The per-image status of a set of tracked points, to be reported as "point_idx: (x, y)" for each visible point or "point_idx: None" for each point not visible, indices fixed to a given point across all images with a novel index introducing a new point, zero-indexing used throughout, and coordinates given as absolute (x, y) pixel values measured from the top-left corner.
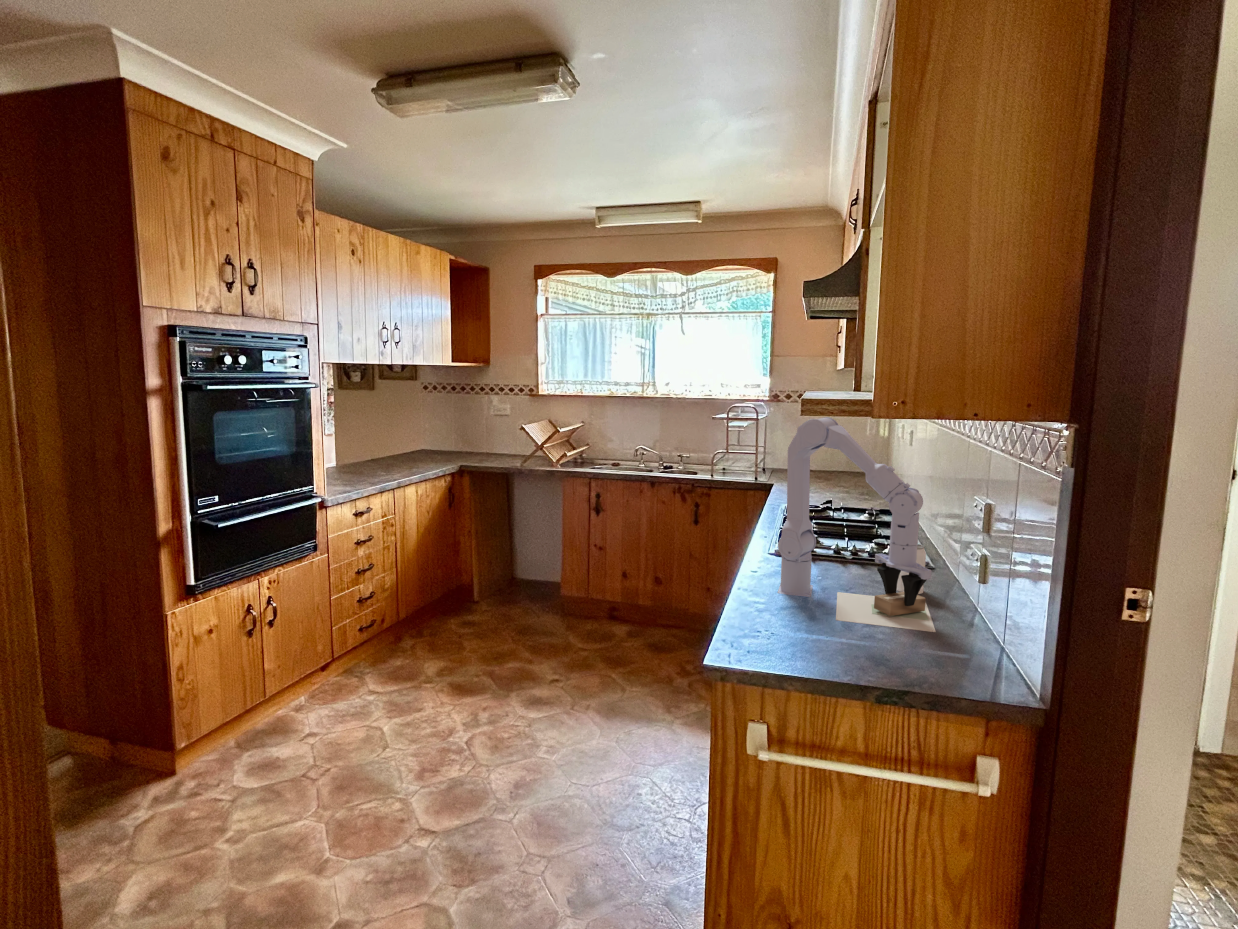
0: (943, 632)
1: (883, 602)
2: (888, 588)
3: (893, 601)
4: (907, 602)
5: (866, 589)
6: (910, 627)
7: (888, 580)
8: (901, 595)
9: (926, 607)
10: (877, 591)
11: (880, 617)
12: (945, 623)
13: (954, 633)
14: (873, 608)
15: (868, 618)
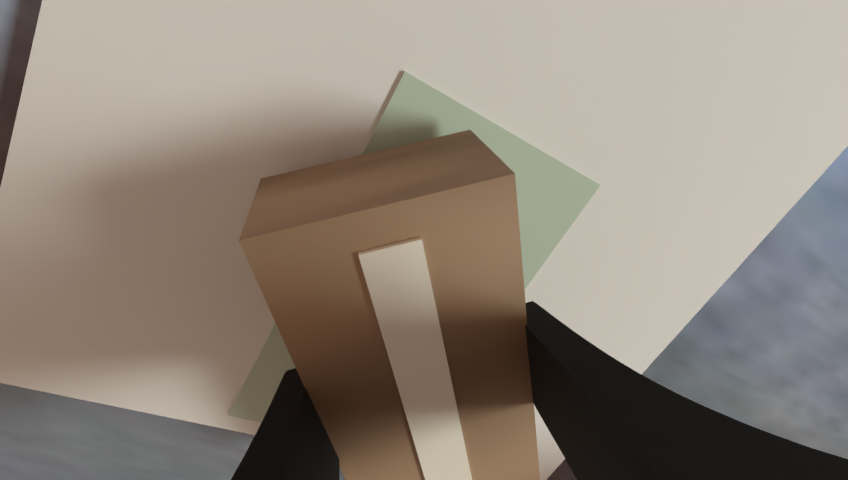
0: (49, 417)
1: (365, 195)
2: (555, 374)
3: (290, 286)
4: (272, 400)
5: (837, 300)
6: (41, 239)
7: (610, 452)
8: (449, 417)
9: None
10: (780, 342)
11: (303, 100)
12: (229, 473)
13: (41, 464)
14: (513, 151)
15: None
